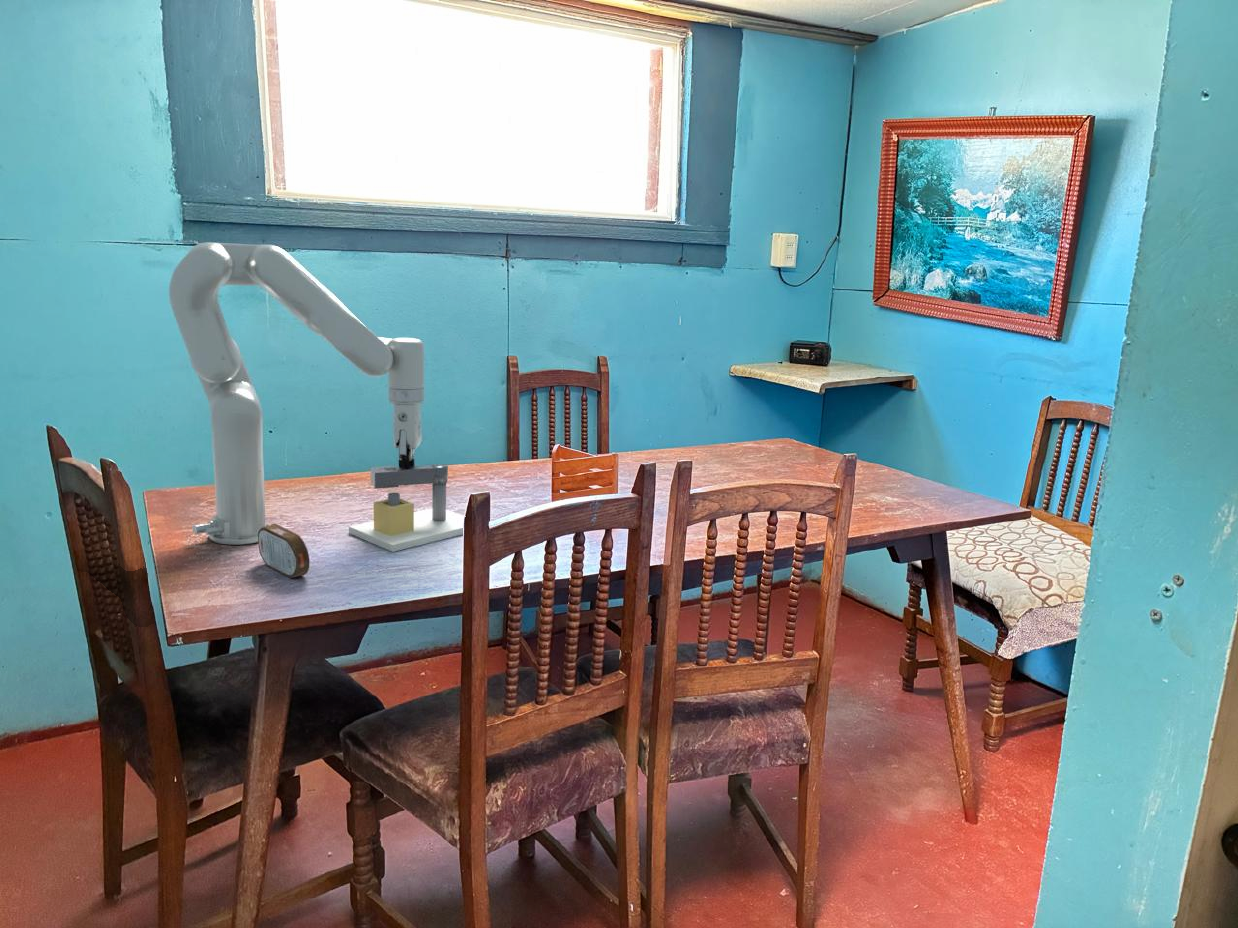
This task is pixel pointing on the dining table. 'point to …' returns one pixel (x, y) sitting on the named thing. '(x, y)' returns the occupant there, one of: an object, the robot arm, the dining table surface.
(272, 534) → the tin
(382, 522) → the collar
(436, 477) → the bar
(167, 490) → the dining table surface
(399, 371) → the robot arm
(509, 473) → the dining table surface
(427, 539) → the pin board
